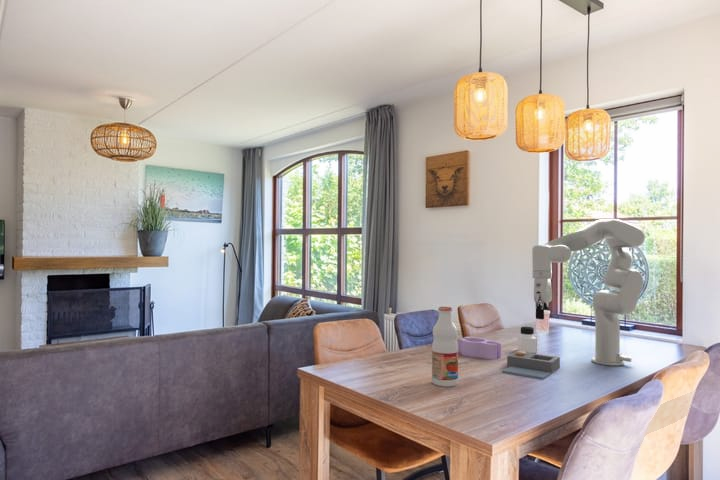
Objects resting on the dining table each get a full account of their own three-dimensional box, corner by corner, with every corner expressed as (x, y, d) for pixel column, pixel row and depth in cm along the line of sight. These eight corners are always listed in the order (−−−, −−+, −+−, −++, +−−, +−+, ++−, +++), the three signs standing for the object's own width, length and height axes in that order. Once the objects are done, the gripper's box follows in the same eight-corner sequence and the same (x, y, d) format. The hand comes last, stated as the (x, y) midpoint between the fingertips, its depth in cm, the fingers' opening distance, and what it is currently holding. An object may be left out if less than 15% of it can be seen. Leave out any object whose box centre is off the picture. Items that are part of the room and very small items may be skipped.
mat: (550, 374, 186) (550, 372, 186) (543, 379, 179) (543, 377, 179) (510, 368, 196) (510, 366, 196) (502, 372, 189) (502, 370, 189)
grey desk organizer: (559, 367, 197) (559, 357, 197) (551, 373, 187) (551, 362, 187) (517, 361, 208) (517, 351, 208) (507, 366, 198) (507, 355, 198)
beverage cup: (531, 331, 197) (531, 298, 197) (543, 330, 199) (542, 297, 200) (541, 334, 192) (541, 299, 192) (553, 333, 194) (553, 299, 194)
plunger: (526, 363, 201) (526, 351, 201) (523, 365, 198) (523, 353, 198) (517, 361, 203) (517, 350, 204) (514, 363, 200) (514, 351, 200)
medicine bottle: (537, 353, 224) (537, 328, 224) (522, 353, 224) (522, 327, 224) (532, 350, 231) (532, 325, 231) (517, 349, 231) (517, 325, 231)
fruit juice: (437, 378, 179) (437, 305, 180) (461, 382, 175) (461, 306, 175) (428, 384, 171) (428, 307, 171) (453, 388, 166) (453, 309, 167)
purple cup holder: (505, 357, 216) (505, 342, 217) (491, 361, 208) (491, 345, 208) (468, 350, 231) (468, 335, 231) (453, 353, 222) (454, 339, 222)
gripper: (545, 276, 187) (545, 321, 186) (557, 274, 200) (557, 316, 200) (526, 275, 191) (526, 319, 191) (539, 273, 205) (539, 314, 205)
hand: (542, 317), depth 196 cm, fingers closed on beverage cup, 6 cm apart
